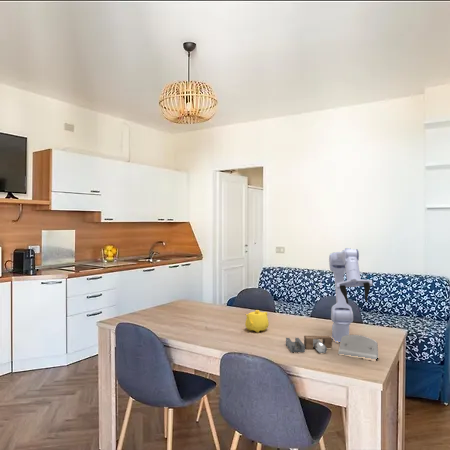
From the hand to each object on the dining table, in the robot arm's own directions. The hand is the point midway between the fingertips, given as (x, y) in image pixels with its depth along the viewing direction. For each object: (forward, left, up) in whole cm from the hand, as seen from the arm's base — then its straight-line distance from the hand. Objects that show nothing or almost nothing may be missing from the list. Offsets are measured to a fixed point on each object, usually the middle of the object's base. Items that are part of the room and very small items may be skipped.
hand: (356, 302), depth 161 cm
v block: (-18, -21, -25) cm, 38 cm away
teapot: (-48, -35, -26) cm, 65 cm away
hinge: (-8, +5, -26) cm, 28 cm away
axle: (-16, -10, -26) cm, 32 cm away
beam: (-19, -10, -25) cm, 34 cm away
